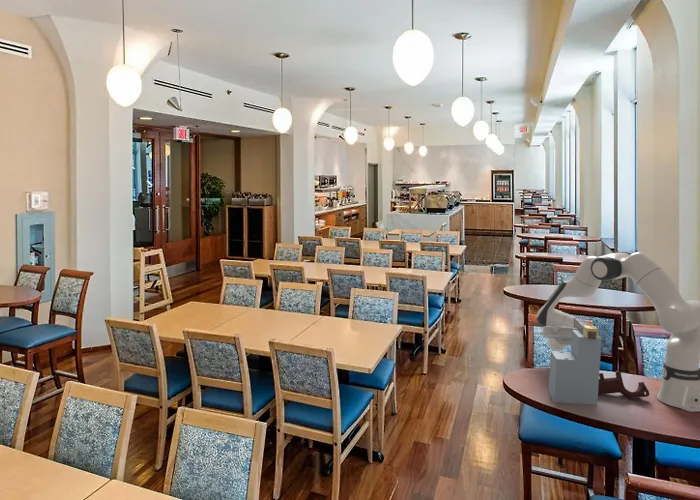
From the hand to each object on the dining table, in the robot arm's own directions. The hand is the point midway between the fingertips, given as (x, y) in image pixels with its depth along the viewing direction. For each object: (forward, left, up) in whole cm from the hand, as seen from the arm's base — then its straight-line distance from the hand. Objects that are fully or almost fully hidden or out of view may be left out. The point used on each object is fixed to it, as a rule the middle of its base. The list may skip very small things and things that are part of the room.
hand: (570, 328), depth 219 cm
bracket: (-16, +17, -22) cm, 32 cm away
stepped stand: (+4, +23, -22) cm, 32 cm away
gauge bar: (0, +20, +4) cm, 20 cm away
